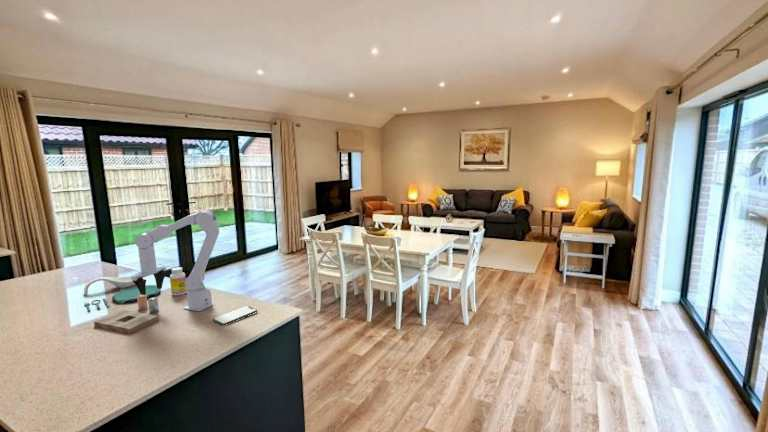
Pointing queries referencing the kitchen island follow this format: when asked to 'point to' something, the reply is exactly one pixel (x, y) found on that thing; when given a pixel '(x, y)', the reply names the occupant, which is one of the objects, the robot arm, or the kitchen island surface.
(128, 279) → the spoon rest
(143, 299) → the terracotta pin
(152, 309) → the steel pin
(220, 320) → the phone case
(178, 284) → the supplement bottle
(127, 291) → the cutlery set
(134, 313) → the wooden board with hole
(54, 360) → the kitchen island surface
